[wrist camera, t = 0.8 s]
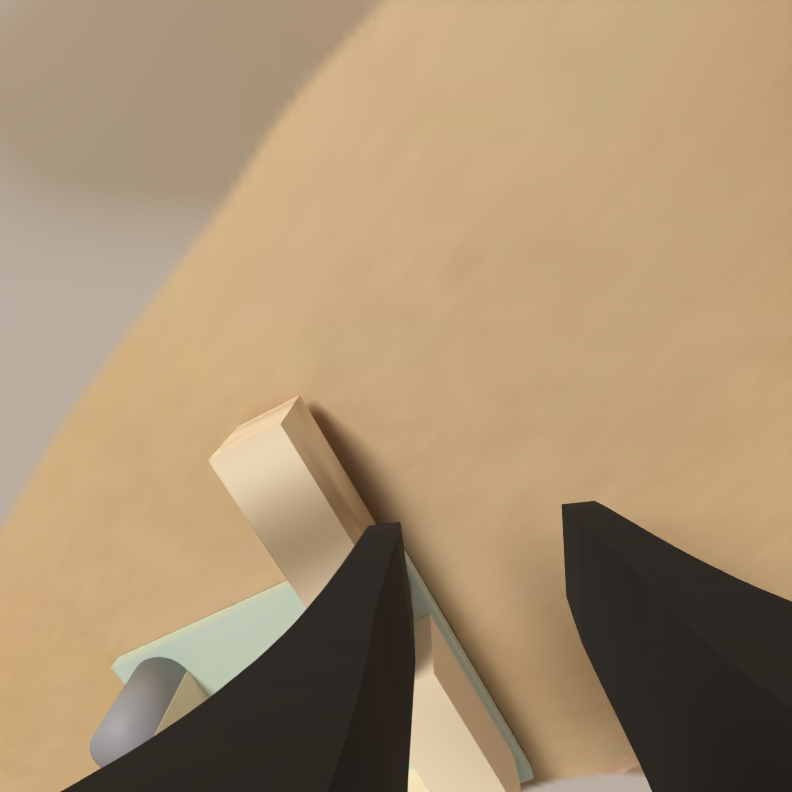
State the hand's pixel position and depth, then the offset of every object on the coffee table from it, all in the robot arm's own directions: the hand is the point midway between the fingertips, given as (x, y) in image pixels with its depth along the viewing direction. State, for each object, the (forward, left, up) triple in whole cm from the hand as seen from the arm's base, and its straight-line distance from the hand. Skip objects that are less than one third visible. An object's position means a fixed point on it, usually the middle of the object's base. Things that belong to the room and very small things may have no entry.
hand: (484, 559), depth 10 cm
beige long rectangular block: (-2, +5, -9) cm, 10 cm away
